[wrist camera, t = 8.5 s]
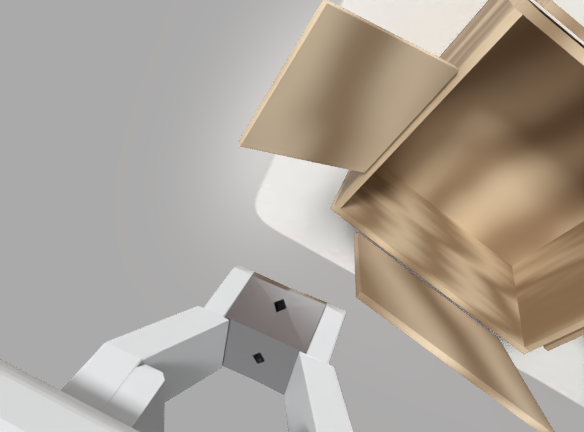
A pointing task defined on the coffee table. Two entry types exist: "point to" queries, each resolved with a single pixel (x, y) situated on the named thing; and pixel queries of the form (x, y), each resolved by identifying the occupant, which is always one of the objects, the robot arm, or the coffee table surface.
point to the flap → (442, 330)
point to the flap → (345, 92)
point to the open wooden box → (492, 178)
